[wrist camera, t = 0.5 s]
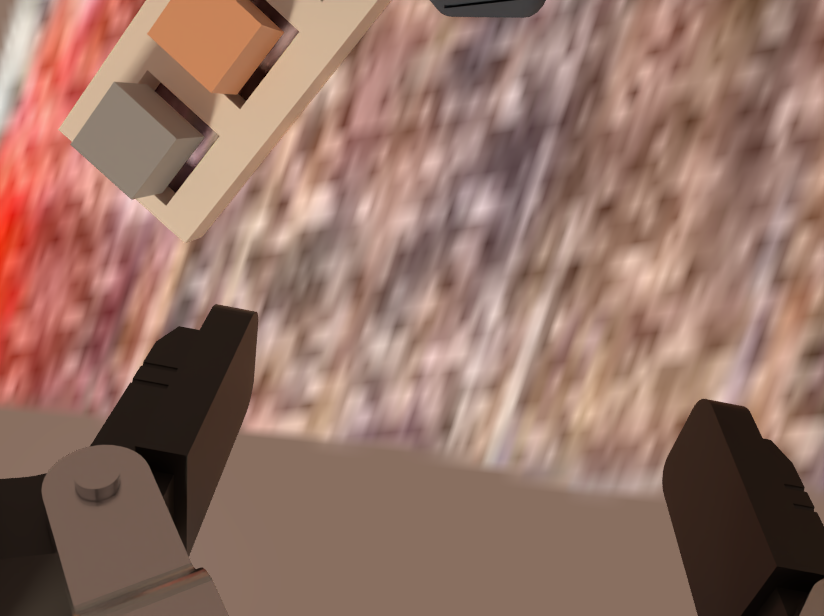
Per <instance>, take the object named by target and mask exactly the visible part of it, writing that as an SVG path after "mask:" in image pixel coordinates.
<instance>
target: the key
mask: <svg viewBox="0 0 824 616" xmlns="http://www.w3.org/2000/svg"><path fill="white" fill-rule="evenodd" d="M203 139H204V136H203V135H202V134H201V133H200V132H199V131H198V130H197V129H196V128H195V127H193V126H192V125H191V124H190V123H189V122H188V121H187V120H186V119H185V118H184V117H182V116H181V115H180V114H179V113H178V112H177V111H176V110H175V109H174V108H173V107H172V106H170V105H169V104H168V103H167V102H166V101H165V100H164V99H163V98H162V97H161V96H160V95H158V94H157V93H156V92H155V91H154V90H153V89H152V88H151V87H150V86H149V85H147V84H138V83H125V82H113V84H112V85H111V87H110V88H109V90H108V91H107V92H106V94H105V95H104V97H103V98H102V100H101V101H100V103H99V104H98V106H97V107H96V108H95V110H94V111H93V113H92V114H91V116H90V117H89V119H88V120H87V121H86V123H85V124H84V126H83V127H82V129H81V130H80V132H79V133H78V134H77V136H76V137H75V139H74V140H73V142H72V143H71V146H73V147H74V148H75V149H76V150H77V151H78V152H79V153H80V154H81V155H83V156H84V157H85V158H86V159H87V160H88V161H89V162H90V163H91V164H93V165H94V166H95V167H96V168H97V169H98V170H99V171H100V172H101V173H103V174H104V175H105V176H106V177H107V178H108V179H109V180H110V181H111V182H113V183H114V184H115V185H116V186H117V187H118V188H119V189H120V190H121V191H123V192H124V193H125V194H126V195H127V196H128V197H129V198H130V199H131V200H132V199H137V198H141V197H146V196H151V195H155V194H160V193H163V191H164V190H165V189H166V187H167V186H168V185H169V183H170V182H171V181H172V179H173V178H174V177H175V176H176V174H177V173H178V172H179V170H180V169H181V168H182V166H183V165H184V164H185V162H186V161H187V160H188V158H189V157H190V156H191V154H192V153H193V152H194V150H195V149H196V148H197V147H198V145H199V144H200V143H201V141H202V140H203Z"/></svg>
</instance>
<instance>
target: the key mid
mask: <svg viewBox="0 0 824 616" xmlns="http://www.w3.org/2000/svg"><path fill="white" fill-rule="evenodd" d="M283 33H284V32H283V31H282V30H281V29H280V28H279V27H278V26H277V25H276V24H275V23H273V22H272V21H271V20H270V19H269V18H268V17H267V16H266V15H265V14H264V13H263V12H262V11H261V10H260V9H259V8H257V7H256V6H255V5H254V4H253V3H252V2H251V1H250V0H170V1H169V3H168V4H167V6H166V7H165V9H164V10H163V11H162V13H161V14H160V16H159V17H158V19H157V20H156V22H155V23H154V25H153V26H152V27H151V29H150V30H149V32H148V33H147V35H149V36H150V37H151V38H152V39H153V40H154V41H155V42H156V43H157V44H158V45H159V46H161V47H162V48H163V49H164V50H165V51H166V52H167V53H168V54H169V55H170V56H171V57H172V58H174V59H175V60H176V61H177V62H178V63H179V64H180V65H181V66H182V67H183V68H184V69H186V70H187V71H188V72H189V73H190V74H191V75H192V76H193V77H194V78H195V79H196V80H197V81H199V82H200V83H201V84H202V85H203V86H204V87H205V88H206V89H207V90H208V91H209V92H211V93H219V94H234V95H237V94H238V93H239V91H240V90H241V89H242V87H243V86H244V85H245V83H246V82H247V81H248V79H249V78H250V77H251V75H252V74H253V73H254V71H255V70H256V69H257V67H258V66H259V65H260V64H261V62H262V61H263V60H264V58H265V57H266V56H267V54H268V53H269V52H270V50H271V49H272V48H273V46H274V45H275V44H276V42H277V41H278V40H279V38H280V37H281V36H282V35H283Z"/></svg>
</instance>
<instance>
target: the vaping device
mask: <svg viewBox="0 0 824 616" xmlns="http://www.w3.org/2000/svg"><path fill="white" fill-rule="evenodd" d="M430 1H431V2H432V3H433V5H434V6H435V7H436V8H437V9H438V10H439V12H441V13H442V14H444V15H446V16H451V17H521V18H524V17H530V16H532V15H533V14H535V13H537V12H538V11H539V9H540V8H541V7H542V6H543V5H544V3H545V1H546V0H430Z"/></svg>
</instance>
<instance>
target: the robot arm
mask: <svg viewBox="0 0 824 616" xmlns="http://www.w3.org/2000/svg"><path fill="white" fill-rule="evenodd" d="M257 331H258V313H257V312H254V311H249V310H244V309H238V308H233V307H228V306H223V305H218V304H215V305H214V306H213V307H212V309H211V311H210V313H209V314H208V316H207V318H206V320H205V321H204V323H203V325H202V327H201V329H200V330H196V329H191V328H185V327H180V326H179V327H177V328H176V329H174V330H173V331H171V332H170V333H168V334H167V335H165V336H164V337H162V338H161V339H159V340H158V341H156V343H155V344H154V346H153V347H152V349H151V351H150V352H149V354H148V355H147V357H146V359H145V360H144V362H143V366H141V367H140V368H139V370H138V371H137V373H136V374H135V376H134V378H133V382H132V383H130V384H129V386H128V387H127V389H126V390H125V392H124V393H123V395H122V397H121V398H120V400H119V401H118V403H117V405H116V406H115V408H114V409H113V411H112V412H111V414H110V416H109V417H108V419H107V420H106V422H105V424H104V425H103V427H102V428H101V430H100V431H99V433H98V435H97V436H96V438H95V439H94V441H93V443H92V444H91V446H90V447H86V448H82V449H79V450H76V451H74V452H72V453H71V454H68V455H66V456H65V457H63V458H62V459H60V460H59V461H58V462H56V463H55V464H54V465H53V466H52V468H51V469H50V470H49V471H48V473H46V474H41V475H37V476H31V477H22V478H9V479H0V616H229V615H228V613H227V611H226V609H225V606H224V604H223V602H222V600H221V597H220V595H219V593H218V591H217V589H216V586H215V585H214V582H213V580H212V578H211V577H210V575H209V574H208V572H207V571H206V570H205V569H204V568H198V569H195V568H194V567H193V565H192V563H191V561H190V559H189V555H190V552H191V550H192V547H193V545H194V542H195V540H196V537H197V535H198V532H199V530H200V527H201V524H202V522H203V519H204V517H205V515H206V512H207V510H208V507H209V505H210V502H211V500H212V497H213V495H214V492H215V489H216V487H217V485H218V482H219V479H220V477H221V475H222V472H223V470H224V467H225V464H226V462H227V460H228V457H229V455H230V452H231V449H232V447H233V445H234V442H235V440H236V437H237V435H238V432H239V430H240V427H241V425H242V422H243V420H244V417H245V415H246V412H247V409H248V406H249V402H250V398H251V394H252V388H253V382H254V371H255V357H256V344H257ZM662 484H663V492H664V496H665V500H666V503H667V507H668V510H669V514H670V517H671V521H672V524H673V528H674V532H675V535H676V539H677V542H678V546H679V550H680V553H681V557H682V560H683V564H684V568H685V571H686V575H687V578H688V582H689V585H690V589H691V592H692V596H693V600H694V603H695V607H696V610H697V614H698V616H824V526H823V524H822V522H821V520H820V518H819V516H818V514H817V512H814V506H813V503H812V501H811V500H810V497H809V495H808V493H807V492H804V488H805V487H804V485H803V483H802V481H801V479H800V477H799V475H798V473H797V471H796V469H795V467H794V465H793V463H792V462H791V461H790V460H789V459H788V458H787V457H786V456H785V455H784V454H783V453H782V452H781V450H780V449H779V448H778V447H777V446H776V445H775V444H774V443H773V442H772V441H771V440H768V439H763V438H762V436H761V434H760V432H759V430H758V428H757V426H756V423H755V421H754V419H753V417H752V415H751V413H750V411H749V410H748V409H747V408H746V407H744V406H739V405H734V404H728V403H723V402H718V401H713V400H708V399H701V400H699V401H698V402H697V403H696V405H695V406H694V408H693V409H692V411H691V413H690V415H689V417H688V419H687V421H686V423H685V425H684V427H683V428H682V430H681V432H680V434H679V436H678V438H677V440H676V442H675V444H674V445H673V447H672V449H671V451H670V453H669V455H668V457H667V459H666V462H665V465H664V470H663V479H662Z"/></svg>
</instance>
